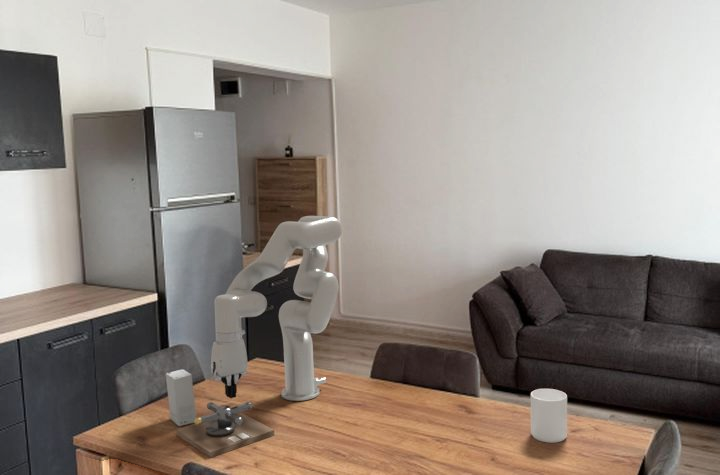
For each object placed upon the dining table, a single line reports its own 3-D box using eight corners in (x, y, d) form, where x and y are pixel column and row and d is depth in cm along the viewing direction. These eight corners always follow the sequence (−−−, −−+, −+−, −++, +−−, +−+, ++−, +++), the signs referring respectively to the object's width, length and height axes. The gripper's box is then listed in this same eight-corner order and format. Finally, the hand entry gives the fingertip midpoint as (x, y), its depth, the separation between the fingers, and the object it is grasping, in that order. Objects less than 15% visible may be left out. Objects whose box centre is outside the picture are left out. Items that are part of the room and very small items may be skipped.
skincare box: (197, 422, 199) (193, 374, 197) (177, 427, 196) (173, 379, 194) (187, 414, 206) (184, 367, 204) (168, 418, 202) (164, 371, 201)
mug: (530, 441, 177) (529, 399, 176) (532, 424, 189) (531, 384, 187) (567, 445, 174) (567, 402, 173) (566, 426, 186) (566, 386, 184)
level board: (238, 415, 203) (238, 410, 203) (274, 435, 188) (274, 429, 187) (177, 435, 190) (176, 429, 190) (210, 457, 175) (210, 451, 175)
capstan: (237, 411, 201) (235, 392, 201) (269, 429, 188) (268, 407, 187) (181, 429, 190) (179, 408, 189) (211, 449, 176) (210, 426, 175)
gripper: (244, 330, 203) (246, 388, 205) (199, 338, 193) (202, 399, 195) (257, 334, 197) (259, 394, 199) (212, 343, 188) (214, 406, 189)
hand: (231, 396), depth 197 cm, fingers closed
